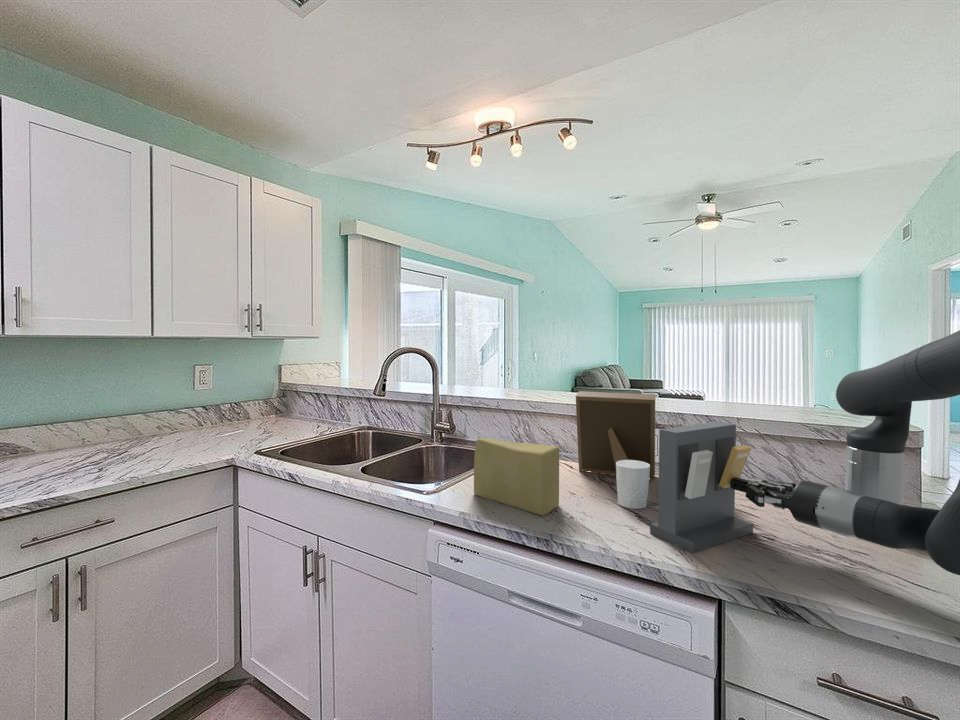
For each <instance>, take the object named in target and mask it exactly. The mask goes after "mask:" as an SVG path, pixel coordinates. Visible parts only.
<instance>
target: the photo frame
mask: <svg viewBox="0 0 960 720" xmlns="http://www.w3.org/2000/svg"><path fill="white" fill-rule="evenodd" d="M575 407H576V408H575V410H576V411H575V412H576V414H575V415H576V433H577V436H576V437H577V455H578V457H577V459H578V471H579V470H583V471H591V472H597V473H596V474H599V473H605V474H604V475H608V474H614V475H613V476H616V462H617V461H620V460H637V461H642V462H646V463H648V464H649V465H650V475H649V478H650V479H649V480H652V479H654V480H655V477H656V394H653V393H651V394H650V393H629V392H626V393H624V392H608V391H606V392H605V391H603V392H602V391H601V392H600V391H586V390H585V391H583V390H579V391H578V392H577V393H576V395H575ZM591 472H590V473H591Z"/></svg>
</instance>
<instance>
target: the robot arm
mask: <svg viewBox="0 0 960 720" xmlns="http://www.w3.org/2000/svg"><path fill="white" fill-rule="evenodd" d="M957 396H960V330H958V331H955V332H953V333H950V334H949V335H946V336H944V337H942V338H938V339H936V340H934V341H931V342H929V343H926V344H923V345H922V346H919V347H917V348H914V349H913V350H911V351H908V352H907V353H904V354H902V355H899V356H897V357H894V358H893V359H890V360H888V361H885V362H883V363H881V364H879V365H878V364H877V365H876V366H873V367H870V368H866V369H863V370H862V369H861V370H857V371H854V372H850V373H848V374H846V375H845V376H844V377H842V379H841V380H840V381H839V382H838V385H837V387H836V390H835V397H836V398H835V399H836V401H837V403H838V405H839V406H840V408H841V409H842V410H844V411H845V412H847V413H848V414H851V415H855V416H860V417H861V416H863V417H875V418H874V420H873V421H872V422H871V423H870V424H868V425H865V426H863V427H861V428H857V429H854V430H851V431H849V432H848V433H847V435H846V443H845V444H846V448H845V449H846V450H845V484H844V485H845V487H844V489H843V488H839V487H837V486H831V485H827V484H823V483H819V482H813V481H810V480H801V481H798V482H797V483H795V482H785V481H773V480H765V479H763V480H760V481H759V480H749V479H744V478H742V477H740V478H738V477H735V478H731V481H730V487H731V488H732V489H735V491H739V492H741V493H745V498H747V499H748V500H749V501H750V502H752V503H753V504H754V505H756V506H757V507H758V508H762V507H763V508H764V507H765V504H768V505H770V506H772V507H774V508H777V509H779V510H785V509H788V510H789V511H790V513H791V515H792V517H793V519H795V521H797V522H798V523H802V524H805V525H808V526H809V527H810V526H811V527H814V528H818V529H820V530H824V531H826V532H831V533H833V534H837V535H841V536H845V537H850V538H855V539H860V540H863V541H865V542H869V543H872V544H874V545H875V544H876V545H879V546H882V547H885V548H891V549H897V550H906V549H913V550H920V551H924V552H927V554H928V556H929V558H931V560H932V561H933V562H934V563H935V564H936V565H938V566H939V567H940V568H941V569H943V570H944V571H947V572H949V573H951V574H954V575H957V576H960V478H959V480H958V482H957V484H956V487H955V489H954V491H953V492H952V494H950V496H949V497H948V499H947V500H946V501H945V502H944V504H943V505H942V507H941V508H940V509H934V508H928V507H920V506H911V505H910V506H909V505H904V487H905V455H906V454H905V451H906V443H907V441H908V440H909V439H908V438H909V435H910V426H911V425H910V423H911V414H912V405H913V402H923V401H924V402H925V401H934V400H943V399H949V398H952V397H957Z"/></svg>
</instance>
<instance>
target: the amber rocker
mask: <svg viewBox="0 0 960 720" xmlns="http://www.w3.org/2000/svg"><path fill="white" fill-rule="evenodd" d="M751 449H752V447H751V446H749V445H747V444H743V445H737V446H736V447H733V448H732V450H731V453H730V456H729V459H728V461H727V464H726V467H725V470H724V472H723V475H722V478H721V481H720V483H719V486H721V487H722V488H728V487H730V481H731V478H735V477H738V478H741V475H742V473H743V471H744V468H745V465H746V464H747V463H746V462H747V460H748V457H749V455H750V452H751Z"/></svg>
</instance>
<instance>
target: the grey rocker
mask: <svg viewBox="0 0 960 720" xmlns="http://www.w3.org/2000/svg"><path fill="white" fill-rule="evenodd" d="M712 454H713V452H711V451H709V450H704V451H699V452H693V453H692V458H691V464H690V469H689V475H688V480H687V486H686V492H685V497H687V498H689V499H692V498H696V497H700V496H704V495H705V491H706V486H707V481H708V476H709V470H710V465H711V460H712Z"/></svg>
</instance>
